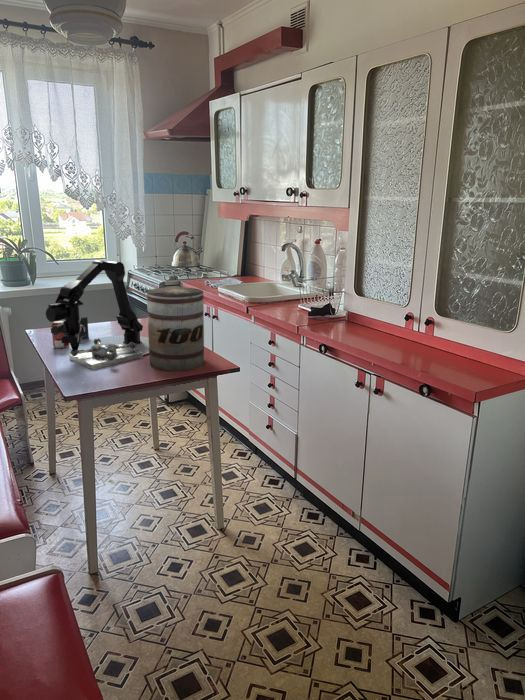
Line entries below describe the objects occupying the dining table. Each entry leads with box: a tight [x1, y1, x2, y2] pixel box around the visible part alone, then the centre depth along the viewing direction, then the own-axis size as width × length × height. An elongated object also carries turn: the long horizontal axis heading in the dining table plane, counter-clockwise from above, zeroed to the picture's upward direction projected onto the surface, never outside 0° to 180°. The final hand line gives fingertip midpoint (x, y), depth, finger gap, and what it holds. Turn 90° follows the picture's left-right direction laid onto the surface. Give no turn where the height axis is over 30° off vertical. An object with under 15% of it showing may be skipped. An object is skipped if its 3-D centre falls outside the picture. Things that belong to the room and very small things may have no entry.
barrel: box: [146, 286, 205, 373], centre depth 216 cm, size 22×22×30 cm
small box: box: [63, 315, 90, 341], centre depth 252 cm, size 11×6×10 cm, turn 58°
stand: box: [68, 343, 144, 370], centre depth 224 cm, size 24×18×2 cm
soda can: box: [50, 319, 70, 349], centre depth 236 cm, size 7×7×12 cm
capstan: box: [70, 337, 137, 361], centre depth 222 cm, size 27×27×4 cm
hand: (75, 353), depth 219 cm, fingers closed
